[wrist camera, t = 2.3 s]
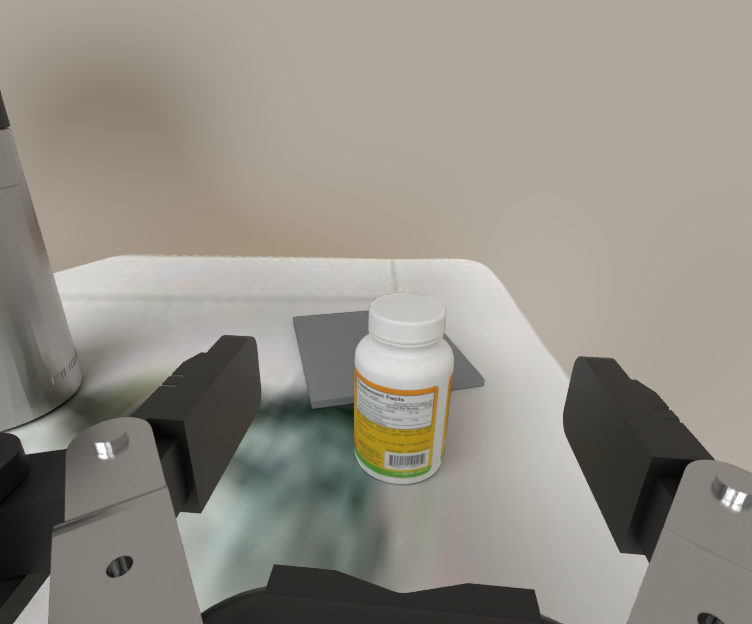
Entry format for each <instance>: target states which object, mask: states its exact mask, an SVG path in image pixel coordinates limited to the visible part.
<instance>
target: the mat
mask: <svg viewBox="0 0 752 624" xmlns="http://www.w3.org/2000/svg"><path fill="white" fill-rule="evenodd" d="M368 321H369V311H358V312H346V313H334V314H322V315H310V316H298V317H293V323H294V328H295V333H296V337H297V342H298V346H299V351H300V356H301V360H302V365H303V369H304V374H305V378H306V383H307V388H308V392H309V397H310V401H311V406H312V409H315V408H322V407H330V406H337V405H344V404H352V403H354V367H355V351H356V348H357V346H358V344H359V342H360V341H361V340H362V339H363V338H364V337H365V336H366V335H368V334H369V330H368V327H369V325H368ZM442 338H443V339H444V340H445V341H446V342H447V343H448V344H449V346H450V347H451V349H452V352H453V355H454V370H453V379H452V387H451V390H456V389H463V388H470V387H478V386H483V385H484V378H483V377H482V376H481V375H480V374H479V372H478V371H477V370H476V369H475V368H474V367H473V366H472V364H471V363H470V362H469V361H468V360H467V359H466V358H465V356H464V355H463V354H462V353H461V352H460V351H459V350H458V348H457V347H456V346H455V345H454V344H453V343H452V342H451V340H450V339H449V338H448V337H447V336H446V335H445V334H444V335H443V337H442Z"/></svg>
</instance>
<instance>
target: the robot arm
mask: <svg viewBox="0 0 752 624" xmlns="http://www.w3.org/2000/svg"><path fill="white" fill-rule="evenodd" d="M9 126H10V123H9V120H8V116H7V113H6V110H5V106H4V103H3V99H2V95H1V91H0V431H3V430H7V429H10V428H13V427H16V426H19V425H21V424H24V423H26V422H29V421H31V420H34V419H36V418H38V417H40V416H42V415H44V414H46V413H48V412H50V411H51V410H53V409H55V408H56V407H58V406H59V405H61V404H62V403H64V402H65V401H66V400H67V399H69V398H70V397H71V396H72V395H73V394H74V393H75V392H76V390H77V389H78V388H79V386H80V384H81V381H82V373H81V370H80V366H79V363H78V359H77V358H78V357H77V353H76V350H75V347H74V345H73V342H72V338H71V335H70V331H69V327H68V324H67V320H66V317H65V313H64V310H63V306H62V303H61V300H60V296H59V293H58V289H57V286H56V282H55V279H54V275H53V272H52V268H51V265H50V262H49V259H48V255H47V251H46V248H45V244H44V241H43V237H42V234H41V231H40V227H39V224H38V220H37V217H36V213H35V210H34V206H33V203H32V200H31V196H30V192H29V190H28V185H27V182H26V179H25V175H24V172H23V169H22V165H21V162H20V158H19V155H18V151H17V148H16V144H15V141H14V137H13V134H12V130H11V129H10V128H6V127H9ZM260 400H261V382H260V372H259V362H258V352H257V344H256V340H255V338H254V337H251V336H234V335H223V336H222V337H221V338H220V339H219V340H218V341H217V342H216V343H215V344H214V345H213V346H212V347H211V348H210V349H209V351H208V352H207V353H203V352H201V353H199V354H197V355H196V356H194V357H192V358H190V359H188V360H186V361H185V362H183V363H182V364H181V365H180V366H179V367H178V368H177V369H176V370H175V371H174V372H173V373H172V376H169V377H168V378H167V379H166V380H165V381H164V382H163V383H162V386H160V387H159V388H158V389H157V390H156V391H155V392H154V393H153V394H152V395H151V396H150V397H149V398H148V399H147V400H146V401H145V402H144V403H143V404H142V405H141V406H140V407H139V408H138V409H137V410H136V411H135V412H134V413H133V414H132V415H131V416H130V417H125V418H116V419H112V420H108V421H104V422H101V423H99V424H96V425H94V426H92V427H90V428H88V429H86V430H85V431H83V432H82V433H80V434H79V435H78V436H76V437H75V438H74V439H73V440H72V441H71V443H70V444H69V446H68V448H67V449H63V450H56V451H48V452H41V453H34V454H27V455H25V452H24V449H23V447H22V444H21V441H20V439H19V438H18V437H17V436H15V435H13V434H10V433H0V624H13V623H14V622H15V620H16V619H17V618H18V616H19V615H20V614H21V612H22V611H23V610H24V608H25V607H26V606H27V604H28V603H29V602H30V600H31V599H32V598H33V596H34V595H35V594H36V592H37V591H38V590H39V588H40V587H41V586H42V584H43V583H44V582H45V580H46V579H47V578H48V576H49V575H50V595H49V616H48V624H562V623H560V622H558V621H556V620H553V619H551V618H549V617H546V616H544V615H541V614H540V610H539V606H538V602H537V598H536V594H535V590H533V589H523V588H512V587H502V586H492V585H481V584H471V583H467V584H460V585H454V586H448V587H441V588H435V589H429V590H423V591H416V592H410V593H397V592H394V591H391V590H388V589H385V588H383V587H380V586H377V585H375V584H372V583H369V582H366V581H364V580H361V579H358V578H355V577H353V576H350V575H347V574H344V573H342V572H339V571H336V570H327V569H317V568H306V567H296V566H286V565H276V564H274V566H273V569H272V572H271V575H270V578H269V581H268V584H267V586H266V587H261V588H256V589H252V590H249V591H245V592H242V593H239V594H237V595H234V596H232V597H229V598H227V599H225V600H223V601H221V602H219V603H217V604H215V605H214V606H212V607H210V608H208V609H207V610H205V611H204V612H202V613H201V614H200V610H199V606H198V602H197V599H196V595H195V591H194V587H193V583H192V579H191V575H190V571H189V568H188V564H187V560H186V556H185V552H184V548H183V544H182V540H181V537H180V533H179V529H178V525H177V521H176V518H177V516H178V514H179V513H180V512H189V513H202V511H203V509H204V507H205V505H206V504H207V502H208V500H209V498H210V496H211V495H212V493H213V491H214V489H215V487H216V486H217V484H218V482H219V480H220V479H221V477H222V475H223V473H224V471H225V470H226V468H227V466H228V464H229V462H230V461H231V459H232V457H233V455H234V453H235V452H236V450H237V448H238V446H239V444H240V443H241V441H242V439H243V437H244V435H245V434H246V432H247V430H248V428H249V426H250V425H251V423H252V421H253V419H254V417H255V416H256V414H257V412H258V409H259V405H260ZM563 426H564V432H565V435H566V438H567V440H568V442H569V444H570V446H571V448H572V450H573V453H574V455H575V457H576V459H577V461H578V463H579V465H580V468H581V470H582V472H583V474H584V476H585V478H586V480H587V483H588V485H589V487H590V489H591V491H592V493H593V495H594V498H595V500H596V502H597V504H598V506H599V508H600V511H601V513H602V515H603V517H604V519H605V521H606V523H607V526H608V528H609V530H610V532H611V534H612V536H613V538H614V541H615V543H616V545H617V547H618V549H619V551H620V553H628V554H640V555H645V556H646V558H647V560H648V562H649V566H648V569H647V571H646V574H645V577H644V579H643V582H642V585H641V587H640V590H639V592H638V595H637V598H636V600H635V603H634V606H633V608H632V611H631V614H630V616H629V619H628V622H627V624H752V473H750V472H748V471H746V470H744V469H742V468H739V467H737V466H734V465H731V464H728V463H724V462H719V461H715V460H714V458H713V457H712V456H711V455H710V454H709V453H708V452H707V450H706V449H705V448H704V447H703V446H702V445H701V443H700V442H699V441H698V440H697V439H696V438H695V437H694V435H693V434H692V433H691V432H690V431H689V430H688V429H687V428H686V426H685V425H684V424H683V423H680V421H679V418H678V417H677V416H676V415H675V414H674V413H673V411H672V410H669V407H668V406H667V405H666V403H665V402H664V401H663V400H662V399H661V398H660V397H659V396H658V394H657V393H656V392H654V391H653V390H651V389H650V388H648V387H646V386H645V385H643V384H642V383H640V382H639V381H637V380H631V379H630V378H629V377H628V375H627V374H626V373H625V372H624V371H623V369H622V368H621V367H620V366H619V364H618V363H617V362H616V361H615V360H614V359H613V358H599V357H582V356H580V357H578V358H577V359H576V361H575V363H574V367H573V371H572V375H571V380H570V384H569V389H568V393H567V398H566V402H565V407H564V412H563Z"/></svg>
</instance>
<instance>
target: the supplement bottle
mask: <svg viewBox="0 0 752 624" xmlns="http://www.w3.org/2000/svg"><path fill="white" fill-rule="evenodd" d="M445 321H446V308H445V306H444V305H443V304H442V303H441V302H440V301H438V300H436V299H434V298H432V297H429V296H425V295H421V294H414V293H394V294H387V295H383V296H380V297H378V298H376V299H374V300H373V301H372V302H371V303H370V306H369V321H368V325H369V327H368V330H369V334H368V335H366V336H365V337H364V338H363V339H362V340H361V341H360V342H359V344H358V346H357V348H356V351H355V367H354V451H355V456H356V459H357V461H358V463H359V464H360V466H361V467H362V468H363V469H364V470H365V471H366V472H367V473H368V474H370V475H371V476H373V477H375V478H376V479H379V480H381V481H384V482H388V483H394V484H412V483H416V482H420V481H423V480H425V479H427V478H429V477H430V476H431V475H433V474H434V473H435V472H436V471H437V470H438V468H439V467H440V465H441V463H442V460H443V455H444V449H445V440H446V430H447V421H448V412H449V404H450V395H451V387H452V379H453V370H454V355H453V352H452V349H451V347H450V346H449V344H448V343H447V342H446V341H445V340H444V339H443V338H442V337H443V335H444V332H445Z"/></svg>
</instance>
